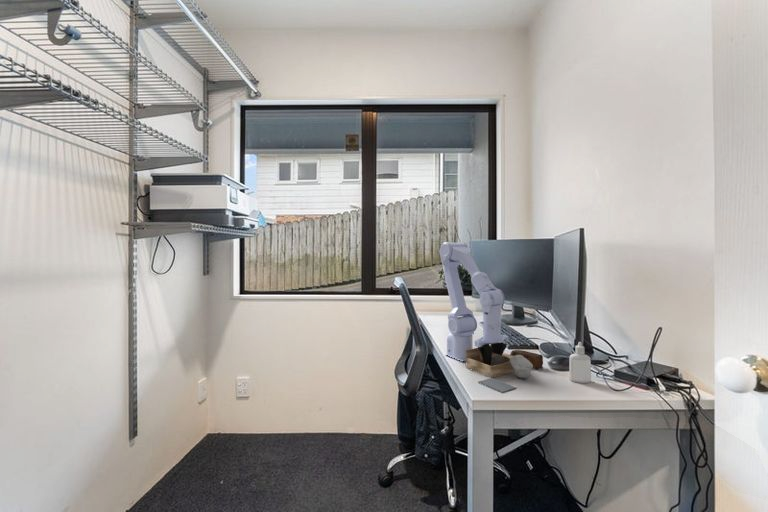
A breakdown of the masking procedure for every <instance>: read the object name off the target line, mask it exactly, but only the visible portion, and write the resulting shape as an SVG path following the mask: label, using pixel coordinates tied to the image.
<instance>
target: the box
mask: <svg viewBox="0 0 768 512" xmlns="http://www.w3.org/2000/svg"><path fill="white" fill-rule="evenodd" d="M480 362H481V363H484V361H483V358H482V355H481V353H480ZM502 363H504V356H502V355H499V354H496V353H492V357H491V366H494V365H498V364H502Z"/></svg>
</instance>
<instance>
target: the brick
mask: <svg viewBox="0 0 768 512" xmlns="http://www.w3.org/2000/svg"><path fill="white" fill-rule="evenodd" d="M509 355H512V356H515V355H522V356H524V358H526V359H527V360H529V361H530V362H531V363H532V365H533V369H532V370H535V371H538V370H541V369H543V365H544V358H543V357H544V356H543V354H539V353H535V352H530V351H528V350H523V349H522V350H521V349H515V350H514V349H513V350H511V352H510V354H509Z"/></svg>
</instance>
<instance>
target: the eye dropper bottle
mask: <svg viewBox="0 0 768 512" xmlns="http://www.w3.org/2000/svg"><path fill="white" fill-rule="evenodd" d="M574 350H575V353H572V354H570V355H569V361H568V362H569V365H568V366H569V367H568V370H569V371H568V372H569V375H568V376H569V380H570V381H571V382H573V383H578V384H589V383H591V381H592V373H591V372H592V371H591V370H592V369H591V367H592V363H591V357H590V356H589V355H587V354H585V346H583V343H582V342H581V341H578V344H577V345H575V349H574Z"/></svg>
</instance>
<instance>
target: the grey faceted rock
mask: <svg viewBox="0 0 768 512" xmlns="http://www.w3.org/2000/svg"><path fill="white" fill-rule="evenodd" d="M510 361H511V365H512V367H513V368H514V372H513V373H515V375H516V376H517V377H518V378H519V379H527V378H528V377H530V376H531V374H532V371H533V370H534V369H533V365H532V363H531V362H530V361H529V360H527V359H526V358H524V356H522V355H515V356H513V357H511V358H510Z"/></svg>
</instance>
